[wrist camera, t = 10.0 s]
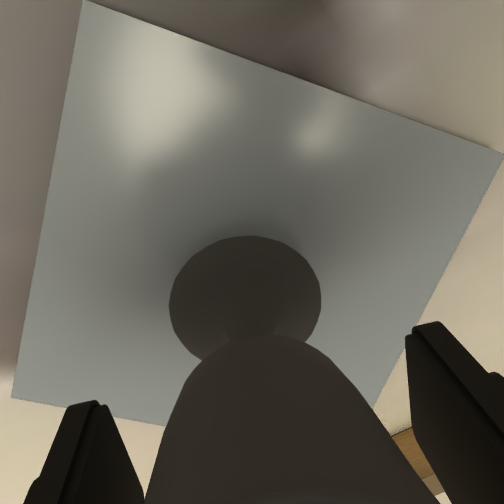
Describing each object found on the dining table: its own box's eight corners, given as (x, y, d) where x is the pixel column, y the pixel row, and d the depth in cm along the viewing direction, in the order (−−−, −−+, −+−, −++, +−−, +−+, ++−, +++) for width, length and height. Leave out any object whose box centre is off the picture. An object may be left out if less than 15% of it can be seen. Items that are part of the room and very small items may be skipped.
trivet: (89, 2, 13) (83, -2, 12) (491, 150, 16) (505, 154, 15) (18, 383, 18) (10, 397, 17) (340, 445, 21) (345, 459, 20)
